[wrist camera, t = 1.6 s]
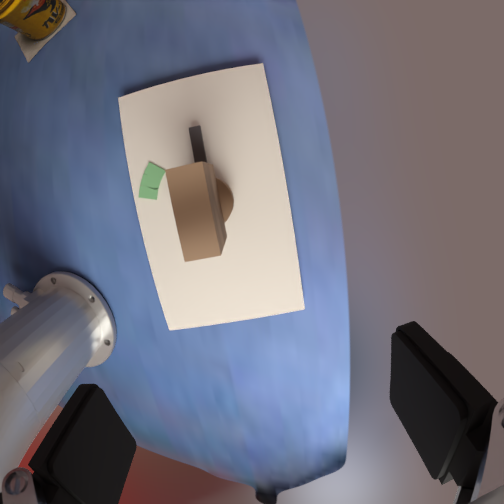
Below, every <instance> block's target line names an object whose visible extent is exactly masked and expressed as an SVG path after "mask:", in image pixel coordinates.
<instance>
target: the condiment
mask: <svg viewBox="0 0 504 504" xmlns="http://www.w3.org/2000/svg"><path fill="white" fill-rule="evenodd" d="M75 15H76V13H75V12H74V11H73V9H72V8H71V7H70V6H69V4H68V3H67V2H66V1H65V0H0V23H1V24H3V25H5V26H7V27H9V28H12V29H14V30H16V31H17V32H18V33H17V35H16V36H15V39H16V40H17V42H18V44H19V46H20V48H21V50H22V51H23V54H24V56H25V57H26V59H27V61H28V63H29V62H30V61H31V59H32V58H33V57H34V56H35V55H36V54H37V52H38V51H39V50H40V49H41V48H42V47H43V46H44V45H45V44H46V43H47V42H48V41H49V40H50V39H51V38H52V37H53V36H54V35H55V34H56V33H57V32H58V31H59V30H61V28H62V27H64V26H65V25H66V24H67V23H68V22H69V21H70V20H71V19H72V18H73V17H74V16H75ZM36 42H38V43H36ZM34 43H35V44H34Z"/></svg>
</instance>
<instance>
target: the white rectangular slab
mask: <svg viewBox="0 0 504 504" xmlns="http://www.w3.org/2000/svg"><path fill="white" fill-rule="evenodd" d="M118 100H119V108H120V116H121V124H122V131H123V138H124V144H125V151H126V157H127V163H128V168H129V174H130V179H131V184H132V189H133V194H134V199H135V204H136V209H137V213H138V218H139V222H140V227H141V231H142V235H143V239H144V243H145V247H146V251H147V255H148V259H149V263H150V267H151V270H152V274H153V278H154V281H155V285H156V288H157V292H158V295H159V299H160V302H161V305H162V308H163V312H164V315H165V318H166V321H167V324H168V327H169V330H177V329H185V328H193V327H200V326H207V325H215V324H221V323H228V322H235V321H241V320H247V319H253V318H259V317H265V316H271V315H277V314H282V313H288V312H293V311H298V310H304V309H305V308H304V300H303V293H302V285H301V277H300V270H299V263H298V256H297V249H296V242H295V235H294V228H293V222H292V216H291V209H290V203H289V197H288V191H287V185H286V179H285V173H284V168H283V162H282V156H281V151H280V145H279V140H278V135H277V129H276V124H275V119H274V114H273V109H272V104H271V99H270V94H269V90H268V85H267V80H266V75H265V71H264V66H263V63H261V64H254V65H247V66H241V67H235V68H229V69H224V70H219V71H214V72H209V73H204V74H199V75H195V76H191V77H187V78H183V79H179V80H175V81H171V82H167V83H164V84H160V85H157V86H153V87H150V88H147V89H144V90H140V91H137V92H134V93H131V94H128V95H125V96H122V97H120V98H118ZM198 125H200V126H201V131H202V136H203V142H204V147H205V153H206V158H207V163H209V164H212V165H213V166H214V171H215V177H216V178H218V179H221V180H222V181H224V182H225V183H226V184H227V185H228V186H229V187H230V189H231V191H232V193H233V197H234V206H233V210H232V212H231V214H230V216H229V218H228V220H227V221H226V222H225V228H226V233H227V239H226V242H225V245H224V248H223V251H222V254H221V256H216V257H211V258H205V259H199V260H194V261H188V262H185V261H184V257H183V253H182V248H181V244H180V240H179V235H178V231H177V226H176V222H175V217H174V213H173V208H172V203H171V198H170V193H169V188H168V183H167V178H166V173H165V170H167V169H171V168H175V167H179V166H183V165H188V164H192V163H195V162H194V156H193V151H192V145H191V140H190V134H189V128H190V127H194V126H198Z"/></svg>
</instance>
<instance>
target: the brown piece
mask: <svg viewBox="0 0 504 504" xmlns="http://www.w3.org/2000/svg"><path fill="white" fill-rule="evenodd" d="M189 134H190V140H191V145H192V151H193V156H194V162H195V163H192V164H188V165H183V166H179V167H175V168H171V169H167V170H165V173H166V178H167V183H168V188H169V193H170V198H171V203H172V208H173V213H174V217H175V222H176V226H177V231H178V235H179V240H180V244H181V248H182V253H183V257H184V261H185V262H188V261H194V260H199V259H205V258H211V257H216V256H221V254H222V251H223V248H224V245H225V242H226V239H227V233H226V228H225V222H226V221H227V220H228V218H229V216H230V214H231V212H232V210H233V206H234V197H233V193H232V191H231V189H230V187H229V186H228V185H227V184H226V183H225V182H224V181H222V180H221V179H218V178H216V177H215V171H214V166H213V165H212V164H209V163H207V158H206V153H205V147H204V142H203V136H202V131H201V126H200V125H198V126H194V127H190V128H189Z"/></svg>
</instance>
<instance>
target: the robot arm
mask: <svg viewBox="0 0 504 504" xmlns="http://www.w3.org/2000/svg"><path fill="white" fill-rule="evenodd" d="M3 295H4V296H5V297H6V298H8V299H9V300H11V301H12V302H14V303H17V304H18V305H19V308H18V307H16V306H14V307H13V308H12V310H11V316H10V317H8V318H7V319H6V320H4V321H3V322H2V323H0V504H118V503H119V499H120V496H121V493H122V490H123V487H124V484H125V481H126V478H127V474H128V472H129V469H130V466H131V463H132V459H133V457H134V454H135V451H136V441H135V439H134V438H133V436H132V435H131V433H130V432H129V431H128V429H127V428H126V426H125V425H124V423H123V422H122V420H121V419H120V417H119V415H118V414H117V412H116V411H115V409H114V408H113V406H112V404H111V403H110V401H109V399H108V398H107V396H106V394H105V393H104V391H103V390H102V389H101V388H99V387H98V386H97V385H96V384H81V385H79V386H78V388H77V389H76V391H75V392H74V394H73V395H72V396H71V398H70V399H69V401H68V402H67V404H66V405H65V407H64V408H63V410H62V411H61V413H60V415H59V416H58V418H57V419H56V420H55V422H54V424H53V425H52V427H51V428H50V430H49V432H48V433H47V434H46V436H45V438H44V439H43V441H42V443H41V444H40V446H39V448H38V449H37V451H36V452H35V454H34V456H33V457H32V459H31V460H30V462H29V464H28V465H29V466H30V467H31V468H32V470H33V471H34V473H33V474H32V473H31V472H30V471H29V470H28V469H25V468H20V467H19V468H17V467H18V465H19V464H20V461H21V460H22V458H23V456H24V454H25V453H26V451H27V449H28V448H29V446H30V445H31V443H32V441H33V440H34V438H35V437H36V435H37V434H38V432H39V431H40V429H41V428H42V427H43V425H44V424H45V422H46V421H47V419H48V418H49V416H50V415H51V413H52V412H53V411H54V409H55V408H56V406H57V405H58V403H59V402H60V401H61V399H62V398H63V396H64V395H65V394H66V392H67V391H68V389H69V388H70V387H71V385H72V384H73V383H74V381H75V380H76V378H77V377H78V376H79V374H80V373H81V372H82V370H83V369H84V368H85V367H93V366H97V365H99V364H102V363H103V362H104V361H106V360H107V359H108V357H109V356H110V355H111V353H112V351H113V349H114V347H115V343H116V326H115V321H114V318H113V315H112V312H111V310H110V308H109V306H108V304H107V303H106V301H105V300H104V298H103V297H102V296H101V294H100V293H99V292H98V291H97V290H96V289H95V288H94V287H93V286H92V285H91V284H90V283H89V282H87V281H86V280H85V279H83V278H81V277H79V276H78V275H75V274H72V273H70V272H63V271H59V272H53V273H50V274H48V275H46V276H45V277H43V278H42V279H41V280H40V281H39V282H38V283H37V284H36V286H35V288H34V290H33V293H30V292H28V291H25V292H23V291H21V290H20V289H19V288H17V287H16V286H14V285H12V284H11V283H8V284H6V286H5V287H4V290H3ZM391 339H392V340H391V341H392V342H391V343H392V344H391V381H390V401H391V405H392V407H393V408H394V410H395V412H396V414H397V415H398V417H399V419H400V420H401V422H402V424H403V426H404V428H405V429H406V431H407V433H408V435H409V437H410V438H411V440H412V442H413V444H414V445H415V447H416V449H417V451H418V453H419V455H420V456H421V458H422V460H423V462H424V463H425V466H426V467H427V469H428V471H429V473H430V475H431V476H432V478H433V479H439V480H440V482H441V484H442V485H443V484H445V483H447V482H448V481H450V480H452V479H454V481H455V482H456V484H457V486H459V487H458V490H457V493H456V497H455V500H454V502H453V504H504V398H503V399H502V400H501V401H500V402H497V401H496V400H495V399H494V398H493V397H492V396H491V395H490V393H489V392H488V391H487V390H486V389H485V388H484V387H483V386H482V385H481V384H480V383H479V382H478V381H477V380H476V379H475V378H474V377H473V376H472V375H471V374H470V373H469V371H468V370H467V369H465V367H464V366H463V365H462V364H461V363H460V362H459V361H457V359H456V358H455V357H454V356H452V355H451V354H450V353H449V352H447V351H446V350H444V348H443V347H441V346H440V345H439V344H438V343H437V342H436V341H435V340H434V339H433V338H432V337H431V336H430V335H429V334H428V333H427V332H426V331H425V330H424V329H423V328H422V327H421V326H420V325H419V324H418V323H416V322H415V321H413V322H409V323H407V324H404V325H401V326H398V327H397V328H396V332H395V333H393V334H392V337H391Z"/></svg>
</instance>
